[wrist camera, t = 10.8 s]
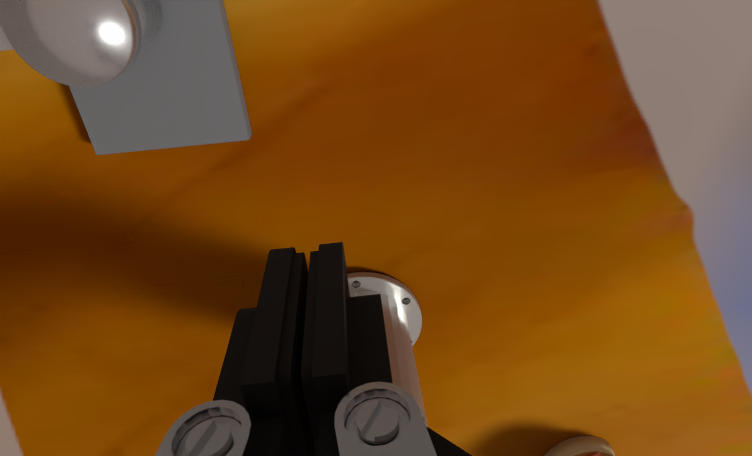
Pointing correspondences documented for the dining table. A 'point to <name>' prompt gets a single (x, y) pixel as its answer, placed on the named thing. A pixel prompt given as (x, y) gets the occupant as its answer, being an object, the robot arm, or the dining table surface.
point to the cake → (581, 447)
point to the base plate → (171, 87)
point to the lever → (78, 36)
